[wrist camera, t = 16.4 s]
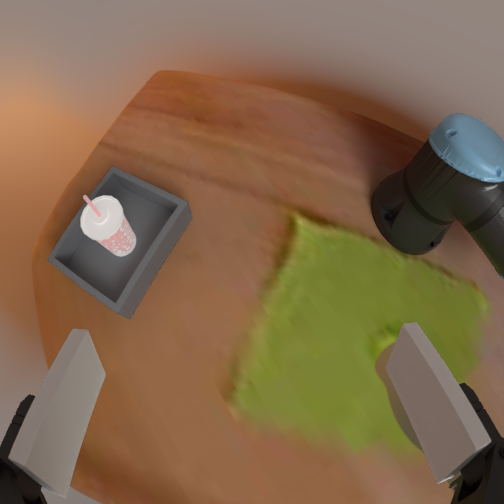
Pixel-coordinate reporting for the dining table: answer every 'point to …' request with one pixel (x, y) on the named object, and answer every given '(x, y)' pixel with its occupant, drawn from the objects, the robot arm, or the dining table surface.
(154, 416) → the dining table surface
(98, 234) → the beverage cup
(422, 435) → the robot arm
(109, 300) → the tote
